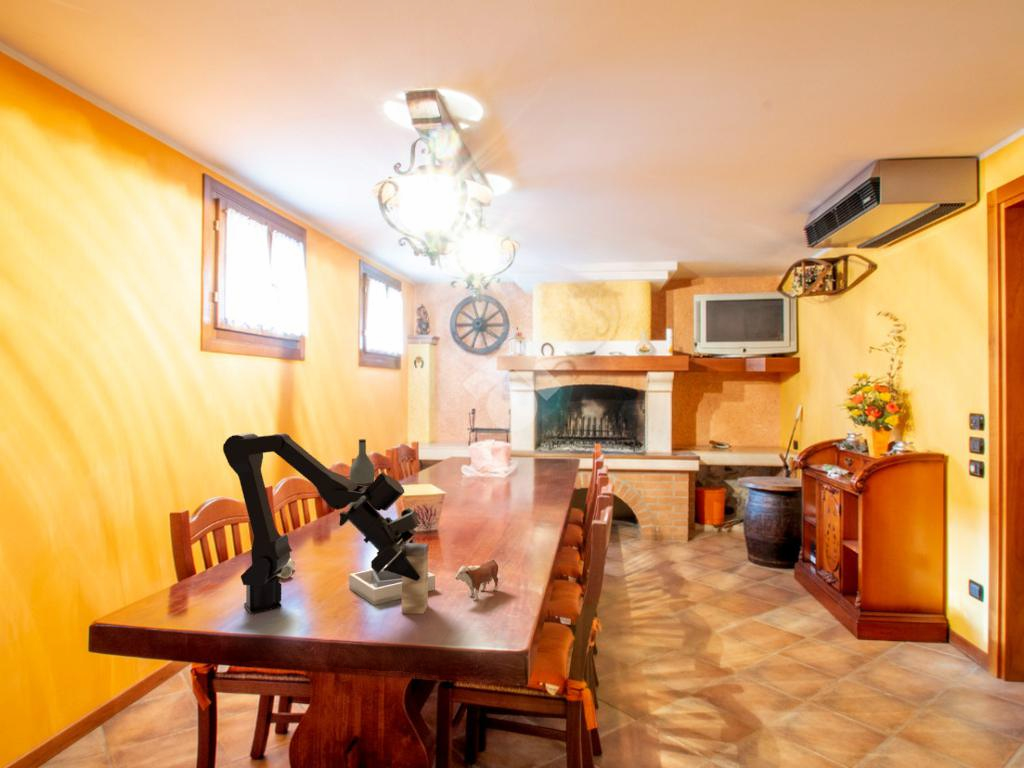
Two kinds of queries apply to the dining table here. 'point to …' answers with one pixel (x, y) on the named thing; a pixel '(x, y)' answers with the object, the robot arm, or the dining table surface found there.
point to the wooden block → (417, 590)
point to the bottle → (362, 469)
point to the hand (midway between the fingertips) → (421, 575)
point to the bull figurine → (478, 576)
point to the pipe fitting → (287, 569)
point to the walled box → (381, 585)
